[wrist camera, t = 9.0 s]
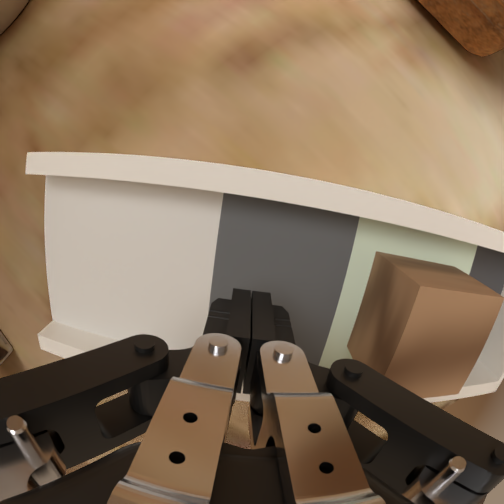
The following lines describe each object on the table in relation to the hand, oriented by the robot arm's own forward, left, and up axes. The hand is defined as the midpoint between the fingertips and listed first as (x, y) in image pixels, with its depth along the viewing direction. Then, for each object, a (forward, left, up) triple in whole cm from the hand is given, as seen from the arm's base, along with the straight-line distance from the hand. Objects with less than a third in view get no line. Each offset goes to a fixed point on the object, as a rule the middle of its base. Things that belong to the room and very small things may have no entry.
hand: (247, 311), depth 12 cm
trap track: (+1, +4, -6) cm, 7 cm away
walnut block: (+1, +9, -4) cm, 10 cm away
